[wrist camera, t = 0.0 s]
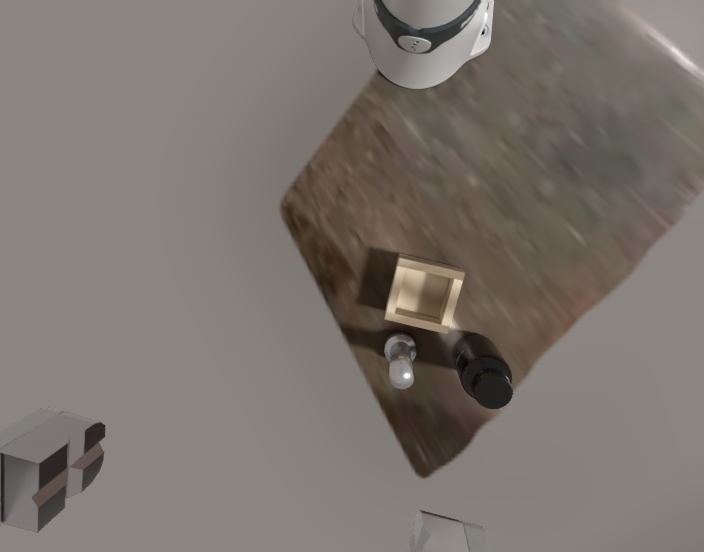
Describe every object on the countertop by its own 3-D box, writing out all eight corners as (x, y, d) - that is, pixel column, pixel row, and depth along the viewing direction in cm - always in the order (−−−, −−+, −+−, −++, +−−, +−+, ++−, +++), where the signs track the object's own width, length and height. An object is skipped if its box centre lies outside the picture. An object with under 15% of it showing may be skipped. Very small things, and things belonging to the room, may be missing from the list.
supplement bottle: (446, 339, 57) (460, 374, 45) (489, 328, 56) (514, 360, 44) (457, 378, 58) (474, 421, 46) (500, 367, 57) (528, 409, 45)
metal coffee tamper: (388, 328, 58) (387, 356, 47) (419, 335, 57) (424, 365, 47) (381, 356, 59) (379, 390, 48) (411, 363, 59) (415, 399, 48)
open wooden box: (399, 253, 55) (399, 257, 51) (459, 267, 55) (465, 272, 50) (385, 310, 57) (384, 319, 53) (443, 324, 57) (447, 334, 52)
